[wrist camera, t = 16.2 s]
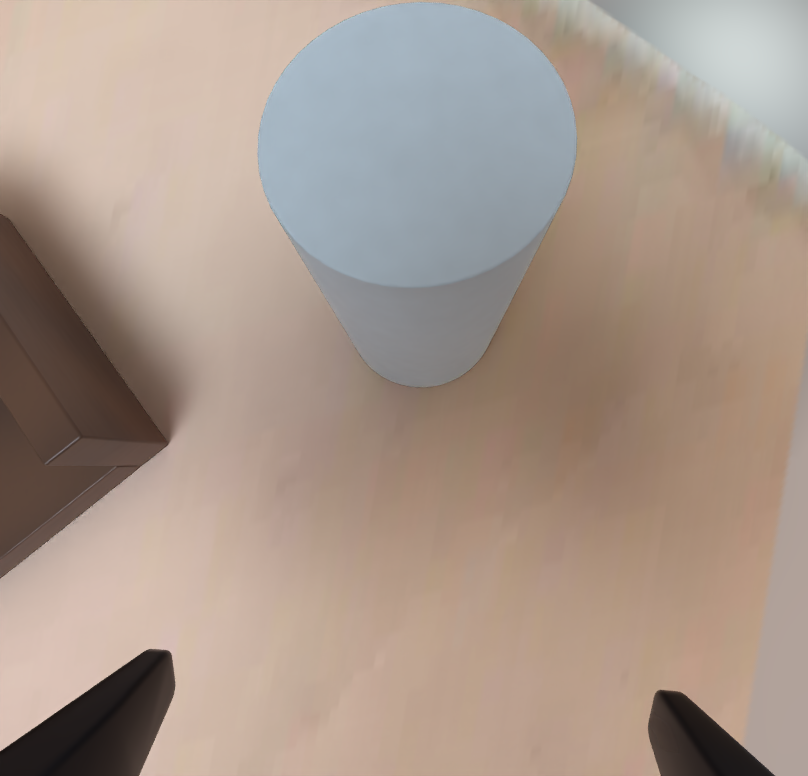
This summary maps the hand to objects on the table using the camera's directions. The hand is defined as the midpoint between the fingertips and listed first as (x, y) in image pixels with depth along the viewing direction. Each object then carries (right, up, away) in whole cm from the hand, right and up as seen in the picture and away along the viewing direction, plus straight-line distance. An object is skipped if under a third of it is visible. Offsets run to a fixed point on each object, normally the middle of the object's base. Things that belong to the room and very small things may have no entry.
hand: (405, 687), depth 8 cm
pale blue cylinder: (+1, +9, +11) cm, 14 cm away
